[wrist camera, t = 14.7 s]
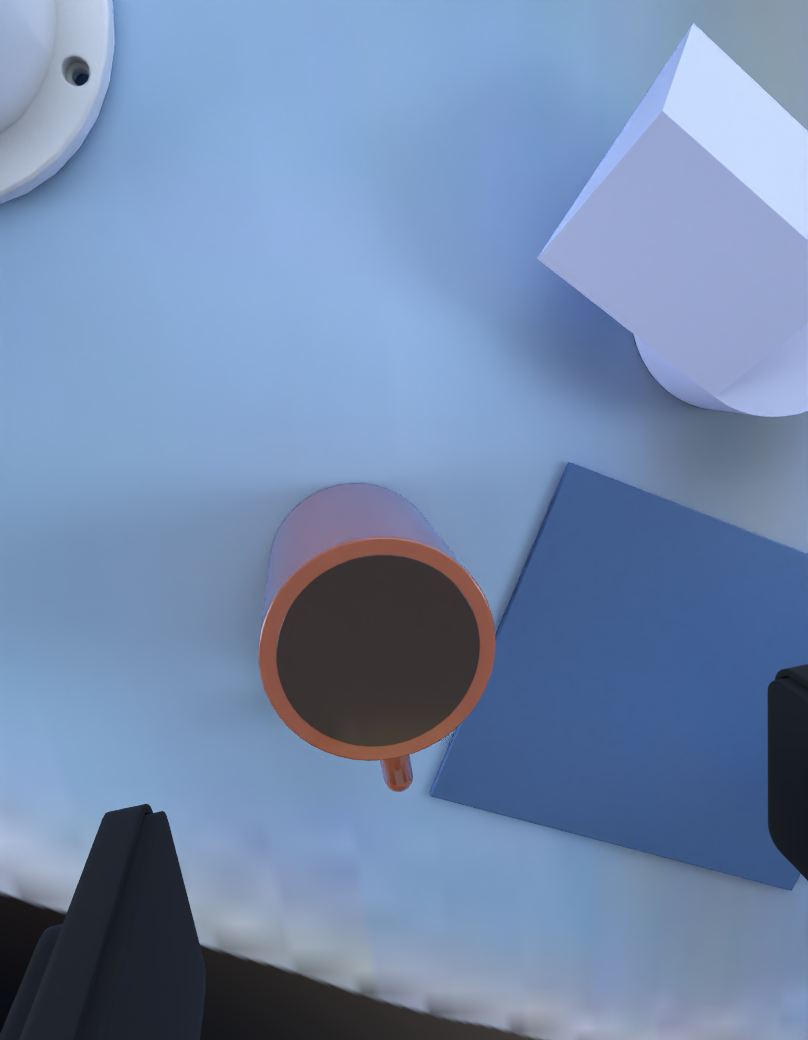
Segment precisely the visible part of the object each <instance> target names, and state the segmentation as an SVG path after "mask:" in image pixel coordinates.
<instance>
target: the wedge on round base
mask: <svg viewBox="0 0 808 1040" xmlns="http://www.w3.org/2000/svg"><path fill="white" fill-rule="evenodd" d="M537 259H538V260H539V261H541V262H542V263H543V264H545V265H546V266H547V267H548V268H550V269H551V270H552V271H553V272H555V273H556V274H557V275H559V276H560V277H561V278H562V279H564V280H565V281H566V282H568V283H569V284H570V285H571V286H573V287H574V288H575V289H577V290H578V291H579V292H580V293H582V294H583V295H584V296H586V297H587V298H588V299H589V300H591V301H592V302H593V303H595V304H596V305H597V306H598V307H600V308H601V309H602V310H604V311H605V312H606V313H607V314H609V315H610V316H611V317H613V318H614V319H615V320H616V321H618V322H619V323H620V324H621V325H623V326H624V327H625V328H627V329H628V330H629V331H630V332H632V333H633V334H634V338H635V341H636V345H637V348H638V350H639V352H640V355H641V357H642V359H643V361H644V363H645V365H646V366H647V368H648V370H649V371H650V373H651V374H652V375H653V376H654V378H655V379H656V380H657V381H658V382H659V384H661V385H662V386H663V387H664V388H665V389H666V390H667V391H668V392H669V393H671V394H673V395H674V396H676V397H677V398H679V399H680V400H682V401H684V402H687V403H689V404H691V405H693V406H697V407H701V408H704V409H710V410H718V411H726V412H733V413H741V414H748V415H756V416H765V417H782V416H789V415H795V414H800V413H803V412H806V411H808V131H807V130H806V129H805V128H804V127H803V126H802V125H800V124H799V123H798V122H797V121H796V120H795V119H794V118H793V117H792V116H791V115H790V114H789V113H788V112H787V111H786V110H785V109H784V108H782V107H781V106H780V105H779V104H778V103H777V102H776V101H775V100H774V99H773V98H772V97H771V96H770V95H769V94H768V93H767V92H766V91H764V90H763V89H762V88H761V87H760V86H759V85H758V84H757V83H756V82H755V81H754V80H753V79H752V78H751V77H750V76H749V75H748V74H746V73H745V72H744V71H743V70H742V69H741V68H740V67H739V66H738V65H737V64H736V63H735V62H734V61H733V60H732V59H731V58H730V57H728V56H727V55H726V54H725V53H724V52H723V51H722V50H721V49H720V48H719V47H718V46H717V45H716V44H715V43H714V42H713V41H712V40H710V39H709V38H708V37H707V36H706V35H705V34H704V33H703V32H702V31H701V30H700V29H699V28H698V27H697V26H696V25H695V24H694V23H693V24H692V25H691V27H690V28H689V30H688V31H687V33H686V34H685V36H684V37H683V39H682V40H681V42H680V43H679V45H678V47H677V48H676V50H675V51H674V53H673V54H672V56H671V57H670V59H669V60H668V62H667V63H666V65H665V66H664V68H663V69H662V71H661V72H660V74H659V75H658V77H657V78H656V80H655V81H654V83H653V84H652V86H651V87H650V89H649V90H648V92H647V93H646V95H645V96H644V98H643V99H642V101H641V102H640V104H639V105H638V107H637V108H636V110H635V111H634V113H633V115H632V116H631V118H630V119H629V121H628V122H627V124H626V125H625V127H624V128H623V130H622V131H621V133H620V134H619V136H618V137H617V139H616V140H615V142H614V143H613V145H612V146H611V148H610V149H609V151H608V152H607V154H606V155H605V157H604V158H603V160H602V161H601V163H600V164H599V166H598V167H597V169H596V170H595V172H594V173H593V175H592V176H591V178H590V180H589V181H588V183H587V184H586V186H585V187H584V189H583V190H582V192H581V193H580V195H579V196H578V198H577V199H576V201H575V202H574V204H573V205H572V207H571V208H570V210H569V211H568V213H567V214H566V216H565V217H564V219H563V220H562V222H561V223H560V225H559V226H558V228H557V229H556V231H555V232H554V234H553V235H552V237H551V238H550V240H549V241H548V243H547V245H546V246H545V248H544V249H543V251H542V252H541V254H540V255H539V257H538V258H537Z"/></svg>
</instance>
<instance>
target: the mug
mask: <svg viewBox="0 0 808 1040" xmlns="http://www.w3.org/2000/svg"><path fill="white" fill-rule="evenodd" d="M495 647H496V639H495V627H494V622H493V617H492V613H491V610H490V608H489V605H488V602H487V600H486V598H485V596H484V594H483V592H482V590H481V588H480V587H479V586H478V584H477V583H476V581H475V580H474V579H473V577H472V576H471V575H470V573H469V572H468V571H467V570H466V568H465V567H464V566H463V565H462V563H461V562H460V561H459V560H458V558H457V557H456V556H455V555H454V553H453V552H452V551H451V550H450V548H449V547H448V546H447V545H446V543H445V542H444V541H443V540H442V538H441V537H440V536H439V535H438V533H437V532H436V531H435V530H434V528H433V527H432V526H431V525H430V523H429V522H428V521H427V520H426V518H425V517H424V516H423V515H422V513H421V512H420V511H419V510H418V509H417V508H416V507H415V506H414V505H413V504H412V503H410V502H409V501H408V500H407V499H405V498H404V497H402V496H401V495H399V494H397V493H396V492H393V491H391V490H389V489H386V488H383V487H380V486H376V485H371V484H364V483H349V484H340V485H336V486H332V487H329V488H326V489H324V490H321V491H319V492H317V493H315V494H313V495H311V496H309V497H308V498H306V499H305V500H304V501H302V502H301V503H300V504H298V505H297V506H296V507H295V508H294V509H293V510H292V511H291V512H290V513H289V515H288V516H287V517H286V518H285V520H284V521H283V523H282V524H281V526H280V528H279V529H278V531H277V534H276V536H275V538H274V540H273V544H272V548H271V551H270V558H269V566H268V574H267V583H266V591H265V599H264V607H263V615H262V623H261V632H260V640H259V668H260V675H261V679H262V683H263V686H264V690H265V692H266V694H267V697H268V699H269V701H270V703H271V705H272V706H273V708H274V710H275V711H276V713H277V714H278V716H279V717H280V718H281V719H282V720H283V722H284V723H285V724H286V725H287V726H288V727H289V728H290V729H291V730H292V731H293V732H294V733H295V734H297V735H298V736H299V737H300V738H302V739H303V740H305V741H306V742H308V743H309V744H311V745H312V746H314V747H316V748H319V749H321V750H323V751H325V752H327V753H330V754H333V755H336V756H339V757H344V758H349V759H355V760H368V761H370V760H380V762H381V767H382V772H383V776H384V781H385V784H386V785H387V787H388V788H389V789H391V790H392V791H395V792H401V791H404V790H406V789H407V788H408V787H409V786H410V785H411V783H412V779H413V774H412V768H411V762H410V756H409V754H413V753H415V752H418V751H420V750H422V749H425V748H427V747H429V746H431V745H432V744H434V743H436V742H438V741H440V740H441V739H442V738H444V737H445V736H447V735H448V734H449V733H451V732H452V731H453V730H454V729H455V728H456V727H458V726H459V725H460V724H461V723H462V722H463V721H464V720H465V718H466V717H467V716H468V715H469V714H470V713H471V711H472V710H473V709H474V707H475V706H476V704H477V703H478V701H479V700H480V698H481V696H482V694H483V692H484V690H485V688H486V686H487V684H488V681H489V678H490V675H491V672H492V668H493V663H494V658H495Z"/></svg>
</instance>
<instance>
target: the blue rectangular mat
mask: <svg viewBox="0 0 808 1040" xmlns="http://www.w3.org/2000/svg"><path fill="white" fill-rule="evenodd" d="M495 639H496V647H495V658H494V663H493V668H492V672H491V675H490V678H489V681H488V684H487V686H486V688H485V690H484V692H483V694H482V696H481V698H480V700H479V701H478V703H477V704H476V706H475V707H474V709H473V710H472V711H471V713H470V714H469V715H468V716H467V717H466V718H465V720H464V721H463V722H462V723H461V724H460V725H459V726H458V727H457V729H456V731H455V734H454V736H453V738H452V741H451V743H450V746H449V748H448V750H447V753H446V755H445V758H444V760H443V762H442V765H441V767H440V769H439V772H438V774H437V777H436V779H435V781H434V784H433V786H432V788H431V791H430V795H431V796H432V797H436V798H440V799H444V800H448V801H452V802H455V803H459V804H463V805H467V806H471V807H474V808H478V809H482V810H486V811H490V812H494V813H497V814H501V815H505V816H509V817H513V818H516V819H520V820H524V821H528V822H532V823H535V824H539V825H543V826H547V827H551V828H555V829H558V830H562V831H566V832H570V833H574V834H577V835H581V836H585V837H589V838H593V839H597V840H600V841H604V842H608V843H612V844H616V845H619V846H623V847H627V848H631V849H635V850H639V851H642V852H646V853H650V854H654V855H658V856H661V857H665V858H669V859H673V860H677V861H681V862H684V863H688V864H692V865H696V866H700V867H703V868H707V869H711V870H715V871H719V872H723V873H726V874H730V875H734V876H738V877H742V878H745V879H749V880H753V881H757V882H761V883H765V884H768V885H772V886H776V887H780V888H784V889H787V890H792V889H793V887H794V885H795V883H796V881H797V879H798V878H799V876H800V874H801V873H800V872H799V871H798V870H797V869H796V868H795V867H794V866H793V865H792V864H791V863H790V862H789V861H788V860H787V859H786V858H785V857H784V856H783V855H782V854H781V852H780V851H779V850H778V849H777V848H776V846H775V844H774V843H773V841H772V838H771V836H770V833H769V829H768V686H769V684H770V683H771V682H772V681H775V677H776V675H777V672H779V671H780V670H781V669H786V668H791V667H796V666H800V665H805V664H808V554H805V553H803V552H800V551H798V550H795V549H793V548H790V547H787V546H785V545H782V544H780V543H777V542H774V541H772V540H769V539H767V538H764V537H761V536H759V535H756V534H754V533H751V532H749V531H746V530H743V529H741V528H738V527H736V526H733V525H730V524H728V523H725V522H723V521H720V520H718V519H715V518H712V517H710V516H707V515H705V514H702V513H699V512H697V511H694V510H692V509H689V508H686V507H684V506H681V505H679V504H676V503H674V502H671V501H668V500H666V499H663V498H661V497H658V496H655V495H653V494H650V493H648V492H645V491H643V490H640V489H637V488H635V487H632V486H630V485H627V484H624V483H622V482H619V481H617V480H614V479H611V478H609V477H606V476H604V475H601V474H599V473H596V472H593V471H591V470H588V469H586V468H583V467H580V466H578V465H575V464H573V463H570V462H568V465H567V467H566V469H565V472H564V474H563V477H562V479H561V481H560V484H559V486H558V488H557V491H556V493H555V496H554V498H553V500H552V503H551V505H550V507H549V510H548V512H547V515H546V517H545V519H544V522H543V524H542V527H541V529H540V531H539V534H538V536H537V538H536V541H535V543H534V546H533V548H532V550H531V553H530V555H529V557H528V560H527V562H526V565H525V567H524V569H523V572H522V574H521V577H520V579H519V581H518V584H517V586H516V588H515V591H514V593H513V596H512V598H511V600H510V603H509V605H508V608H507V610H506V612H505V615H504V617H503V619H502V622H501V624H500V627H499V629H498V631H497V634H496V636H495Z"/></svg>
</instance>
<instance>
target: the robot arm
mask: <svg viewBox="0 0 808 1040" xmlns="http://www.w3.org/2000/svg"><path fill="white" fill-rule="evenodd" d="M114 48H115V35H114V13H113V2H112V0H0V204H2V203H5V202H7V201H10V200H12V199H14V198H17V197H19V196H22V195H24V194H27V193H28V192H30V191H31V190H33V189H34V188H36V187H37V186H38V185H40V184H41V183H43V182H44V181H46V180H47V179H49V178H50V177H52V176H53V175H54V174H56V173H57V172H58V171H59V170H60V169H61V167H62V166H63V165H64V164H65V163H66V162H67V161H68V160H69V159H70V158H71V157H72V156H73V155H74V154H75V152H76V151H77V150H78V149H79V148H80V147H81V145H82V143H83V141H84V140H85V138H86V136H87V135H88V133H89V131H90V130H91V128H92V126H93V125H94V123H95V121H96V120H97V118H98V115H99V112H100V110H101V107H102V104H103V101H104V98H105V95H106V92H107V89H108V86H109V83H110V77H111V70H112V62H113V55H114ZM81 73H84V74H87V75H88V76H89V79H88V81H87V82H86V84H83V85H81V86H78V85H77V84H76V78H77V76H78V75H79V74H81ZM768 829H769V833H770V836H771V838H772V841H773V843H774V844H775V846H776V848H777V849H778V850H779V851H780V852H781V854H782V855H783V856H784V857H785V858H786V859H787V860H788V861H789V862H790V863H791V864H792V865H793V866H794V867H795V868H796V869H797V870H798V871H799V872H800V873H801V874H802V875H803V876H804V877H805V878H806V879H807V880H808V664H805V665H800V666H796V667H791V668H786V669H781V670H780V671H779V672H777V675H776V677H775V681H772V682H771V683H770V684H769V686H768ZM205 991H206V975H205V965H204V960H203V956H202V952H201V948H200V944H199V940H198V936H197V932H196V928H195V924H194V920H193V917H192V913H191V909H190V905H189V901H188V897H187V893H186V889H185V885H184V881H183V877H182V873H181V869H180V866H179V862H178V858H177V854H176V850H175V846H174V842H173V838H172V834H171V830H170V826H169V822H168V819H167V816H166V814H165V812H163V811H161V812H157V813H153V811H152V809H151V807H150V806H149V805H148V804H143V805H139V806H134V807H129V808H125V809H120V810H115V811H110V812H107V813H105V815H104V817H103V819H102V822H101V824H100V827H99V830H98V832H97V835H96V837H95V840H94V843H93V845H92V848H91V851H90V853H89V856H88V859H87V861H86V864H85V867H84V869H83V872H82V875H81V877H80V880H79V883H78V885H77V888H76V890H75V893H74V896H73V898H72V901H71V904H70V906H69V909H68V912H67V914H66V917H65V920H64V922H63V924H60V925H56V926H52V927H49V928H48V929H46V930H45V931H44V932H43V934H42V936H41V937H40V940H39V941H38V943H37V946H36V948H35V950H34V953H33V955H32V958H31V960H30V963H29V965H28V968H27V970H26V973H25V975H24V978H23V980H22V983H21V985H20V987H19V990H18V992H17V995H16V997H15V1000H14V1002H13V1004H12V1007H11V1010H10V1012H9V1014H8V1017H7V1019H6V1022H5V1024H4V1027H3V1029H2V1032H1V1034H0V1040H200V1035H201V1026H202V1018H203V1010H204V1001H205Z"/></svg>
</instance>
